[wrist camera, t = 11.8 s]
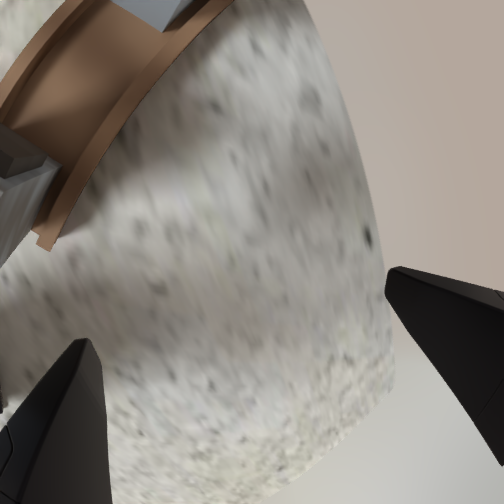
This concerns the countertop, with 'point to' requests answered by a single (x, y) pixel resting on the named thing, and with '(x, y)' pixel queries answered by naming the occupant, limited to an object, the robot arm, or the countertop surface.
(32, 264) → the countertop surface
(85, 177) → the walnut rail
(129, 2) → the slate finger
